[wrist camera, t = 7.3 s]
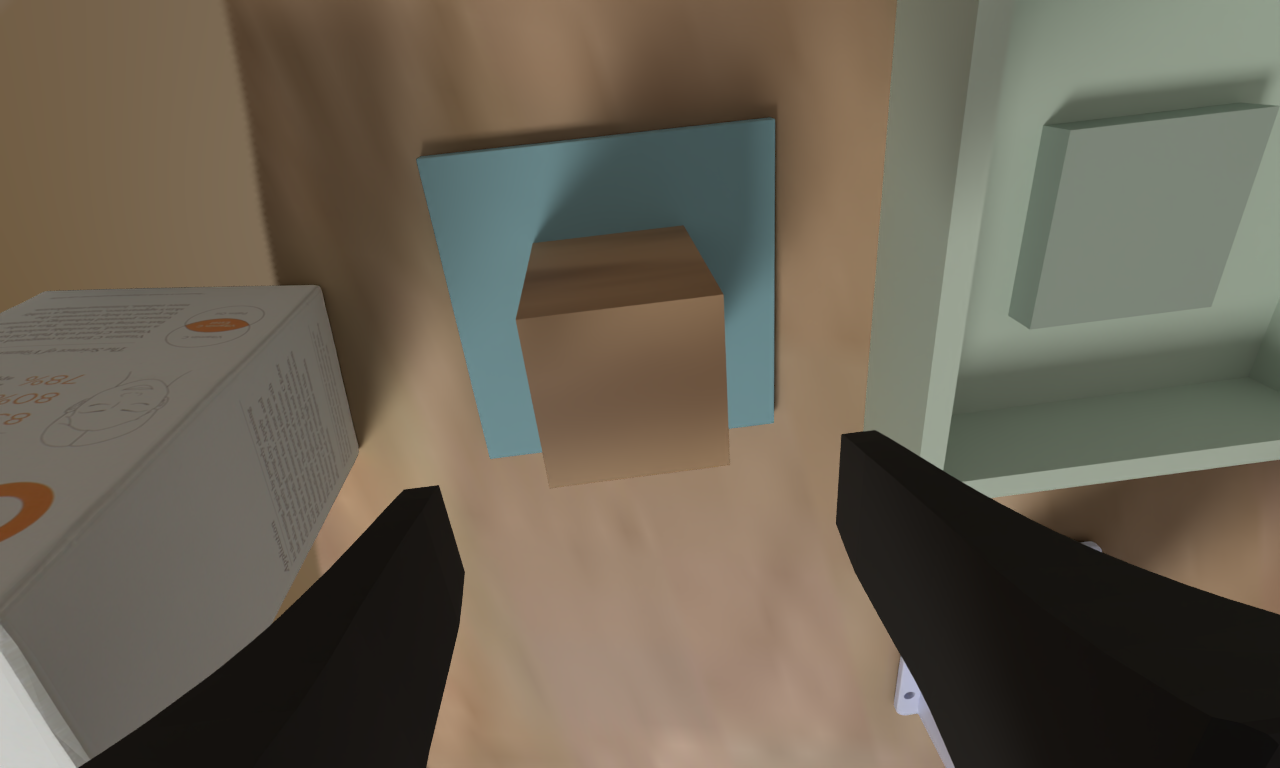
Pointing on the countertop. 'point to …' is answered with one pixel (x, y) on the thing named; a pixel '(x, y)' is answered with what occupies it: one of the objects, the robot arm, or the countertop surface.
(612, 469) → the walnut block
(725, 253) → the teal mat
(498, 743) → the countertop surface
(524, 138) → the countertop surface
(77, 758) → the small box
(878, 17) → the countertop surface
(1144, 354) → the crate
